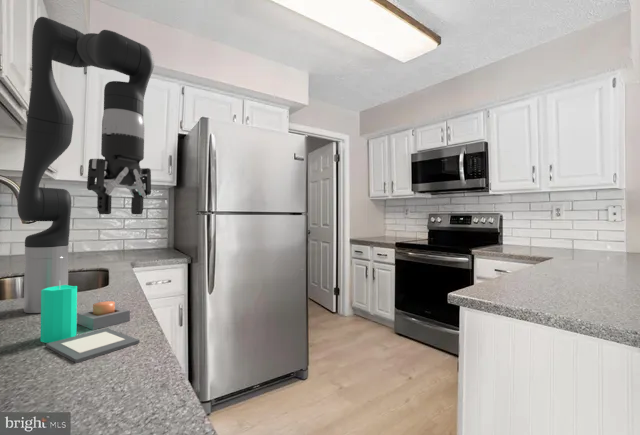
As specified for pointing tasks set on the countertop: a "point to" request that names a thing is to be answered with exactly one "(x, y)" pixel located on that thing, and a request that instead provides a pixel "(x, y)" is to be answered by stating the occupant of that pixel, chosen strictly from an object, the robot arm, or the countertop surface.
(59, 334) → the candle
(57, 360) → the countertop surface
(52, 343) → the grey flat plate
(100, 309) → the button
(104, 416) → the countertop surface
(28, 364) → the countertop surface
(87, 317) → the button box
